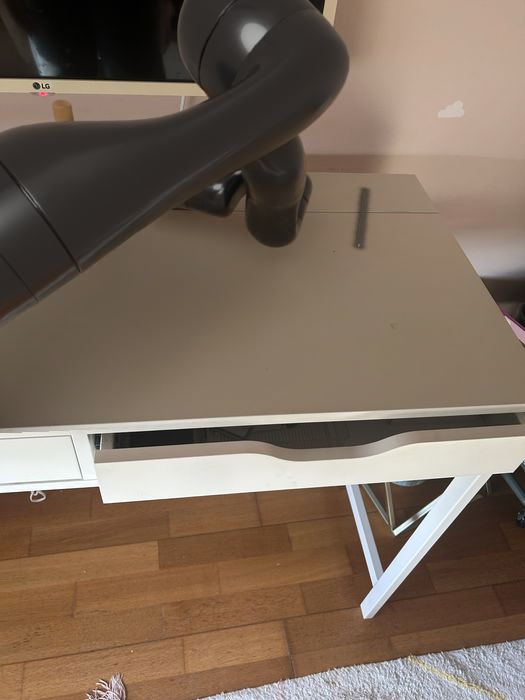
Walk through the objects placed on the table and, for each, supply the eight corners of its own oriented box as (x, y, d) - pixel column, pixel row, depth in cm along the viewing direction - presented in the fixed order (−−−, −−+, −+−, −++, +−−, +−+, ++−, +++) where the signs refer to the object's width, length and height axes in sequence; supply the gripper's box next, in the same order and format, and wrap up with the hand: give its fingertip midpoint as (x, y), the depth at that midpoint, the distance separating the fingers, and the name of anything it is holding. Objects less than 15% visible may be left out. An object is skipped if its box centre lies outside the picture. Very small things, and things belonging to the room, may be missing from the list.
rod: (356, 248, 90) (357, 244, 89) (363, 191, 103) (363, 188, 102) (360, 248, 90) (361, 245, 89) (366, 191, 103) (367, 188, 102)
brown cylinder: (79, 243, 82) (53, 113, 67) (65, 230, 84) (37, 100, 69) (104, 234, 84) (85, 106, 69) (90, 221, 86) (68, 94, 71)
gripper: (184, 127, 74) (73, 99, 76) (137, 172, 64) (12, 139, 67) (185, 176, 79) (81, 149, 82) (141, 225, 70) (26, 192, 73)
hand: (51, 145), depth 74 cm, fingers closed on brown cylinder, 2 cm apart
